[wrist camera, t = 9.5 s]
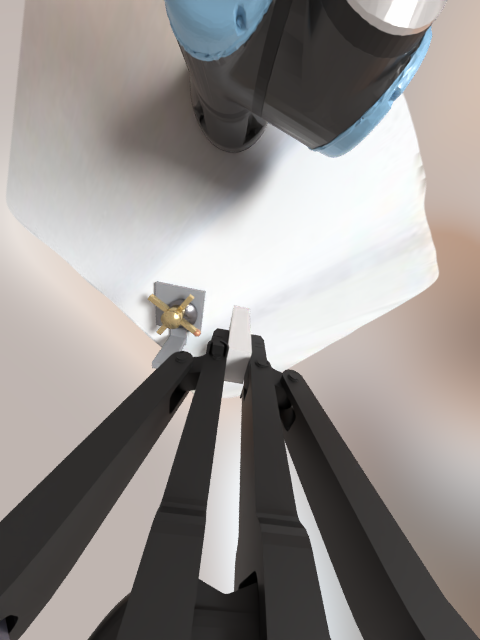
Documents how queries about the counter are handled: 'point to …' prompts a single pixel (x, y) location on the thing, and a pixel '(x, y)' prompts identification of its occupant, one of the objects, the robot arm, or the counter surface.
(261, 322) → the counter surface
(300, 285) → the counter surface
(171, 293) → the stand
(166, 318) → the capstan
